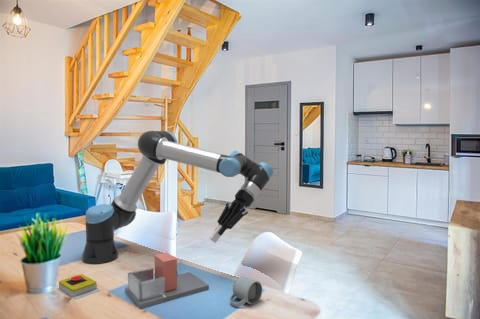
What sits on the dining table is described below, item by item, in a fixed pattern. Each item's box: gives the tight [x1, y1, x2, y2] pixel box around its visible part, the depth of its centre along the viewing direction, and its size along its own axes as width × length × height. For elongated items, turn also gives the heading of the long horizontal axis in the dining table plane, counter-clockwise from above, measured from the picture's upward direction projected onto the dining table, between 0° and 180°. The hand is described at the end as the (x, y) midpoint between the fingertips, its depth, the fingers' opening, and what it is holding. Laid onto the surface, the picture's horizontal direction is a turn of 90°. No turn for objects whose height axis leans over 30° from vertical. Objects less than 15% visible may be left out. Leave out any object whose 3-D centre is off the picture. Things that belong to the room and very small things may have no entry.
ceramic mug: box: [229, 276, 263, 308], centre depth 122 cm, size 11×8×8 cm
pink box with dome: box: [154, 252, 179, 292], centre depth 130 cm, size 8×6×11 cm
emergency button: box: [58, 273, 101, 300], centre depth 131 cm, size 9×4×15 cm
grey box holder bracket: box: [127, 267, 165, 302], centre depth 125 cm, size 11×9×6 cm
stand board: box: [124, 271, 210, 310], centre depth 130 cm, size 15×26×2 cm, turn 126°
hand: (212, 240), depth 140 cm, fingers closed
